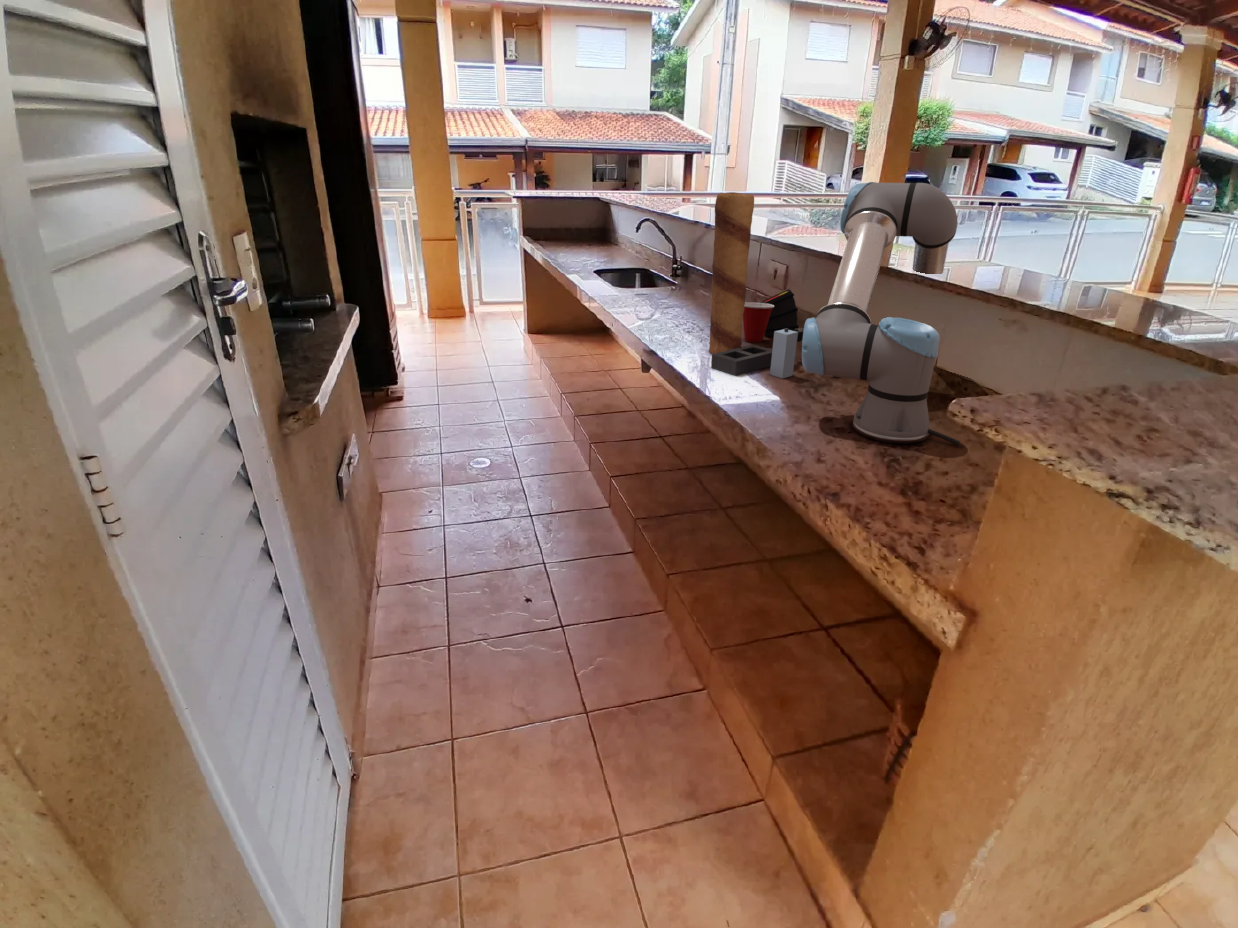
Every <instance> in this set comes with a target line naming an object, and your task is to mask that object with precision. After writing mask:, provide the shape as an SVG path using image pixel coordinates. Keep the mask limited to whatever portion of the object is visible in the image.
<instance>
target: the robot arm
mask: <svg viewBox="0 0 1238 928" xmlns="http://www.w3.org/2000/svg"><path fill="white" fill-rule="evenodd" d="M958 223H959V222H958V214H957V210H956V207H955V206H954V204H953V202H952V201H951V199H950V198H949V196H948V195H947V194H946V193H945V192H943V190H941V189H940V188H938V187H936V186H935V185H932V184H930V183H925V182H876V181H868V182H861V183H860V182H859V183H857V184H855V185H853V187H851V188H850V190H849V191H848V194H847V195H846V198H845V200H844V203H843V208H842V211H841V216H840V223H839V225H840V231H841V233H842V234H844V237H845V239H846V241H847V242H846V246H845V247H844V250H843V254H842V257H841V260H840V263H839V267H838V270H837V273H836V276H835V279H834V283H833V285H832V289H831V292H830V296H829V299H828V302H827V304H826V305H824V306H823V307H821V308H820V309H819V310H818V311H817V313H816V316H815V317H808V318H807V319H806V320H805V321H804V324H803V325H804V326H803V328H799V329H795V330H794V331H796V332H798V337H797V343H800V342H801V364H802V368H803V370H804V371H805V372H807V373H811V374H816V375H819V376H821V377H823V376H830V377H838V378H844V379H851V380H860V381H867V382H868V386H867V392H866V394H865V396H864V398H863V400H862V402H861V403H860V405H859V406H858V408H857V411H856V412H855V414H854V417H853V420H852V429H853V430H854V431H855V432H856V433H858V434H859V435H861V436H863V437H865V438H868V439H870V440H873V441H878V442H881V443H889V444H895V445H897V444H898V445H909V444H917V443H918V444H919V443H921V442H925V441H926V440H927V439H928V438H929V435H932V436H934V437H937V438H940V439H941V440H945V441H947V442H949V443H952V444H954V445H956V446H959V445H960V444H961V440H958V439H956V438H953V437H951V436H948V435H946V434H944V433H941V432H938V431H936V430H934V429H931V423H930V417H929V416H930V415H929V409H928V408H929V407H928V401H927V400H928V395H929V391H930V387H931V383H932V378H933V377H932V376H933V373H934V368H935V363H936V358H938V356H939V347H940V346H939V344H940V338H941V337H940V333H939V331H937V329H935V328H934V327H932V326H931V325H928V324H926V323H923V322H920V321H917V320H914V319H909V318H903V317H893V316H892V317H891V316H889V317H886V318H883V319H881V321H880V322H879V325H875V324H871V319H870V317H869V315H868V314H867V311H868V307H869V304H870V300H871V297H872V293H873V289H874V286H875V282H876V279H877V275H878V273H880V268H881V266H882V265H881V264H882V262H883V257H884V254H885V251H886V248H887V247H889V246H891V244H892V243H893V242H894V240H895V239H896V238H897V237H909V238H911V237H912V240H913V242H914V243H915V244H914V251H913V252H914V253H913V259H912V261H913V262H912V269H913V270H914V271H916V272H920V273H925V274H942V273H943V274H944V270H945V264H946V261H947V255H948V249H949V245H950V243H951V242H952V240H954V238H955V236H956V233H957V229H958Z"/></svg>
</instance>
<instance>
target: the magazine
mask: <svg viewBox="0 0 1238 928" xmlns="http://www.w3.org/2000/svg"><path fill="white" fill-rule="evenodd" d="M758 303H766V304H772V305H774V307H773V309H772V311H771V314H770V317H769V320H768V324H767V328H766V331H765V334H764V337H774V331H779V330H783V329H785V328H788V330H791V331H794V330H795V329H800V328H799V327H800V326H799V324H798V311H799V309H798V307H797V306H796V305H797V304H796V300H795V294H794V292H792V289H790V288H787V289H786V290H783V291H781V292H779V293H776V294H775V295H772V296H770V297H768V298H766V299H764V300H762V301H760V302H758Z"/></svg>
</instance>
